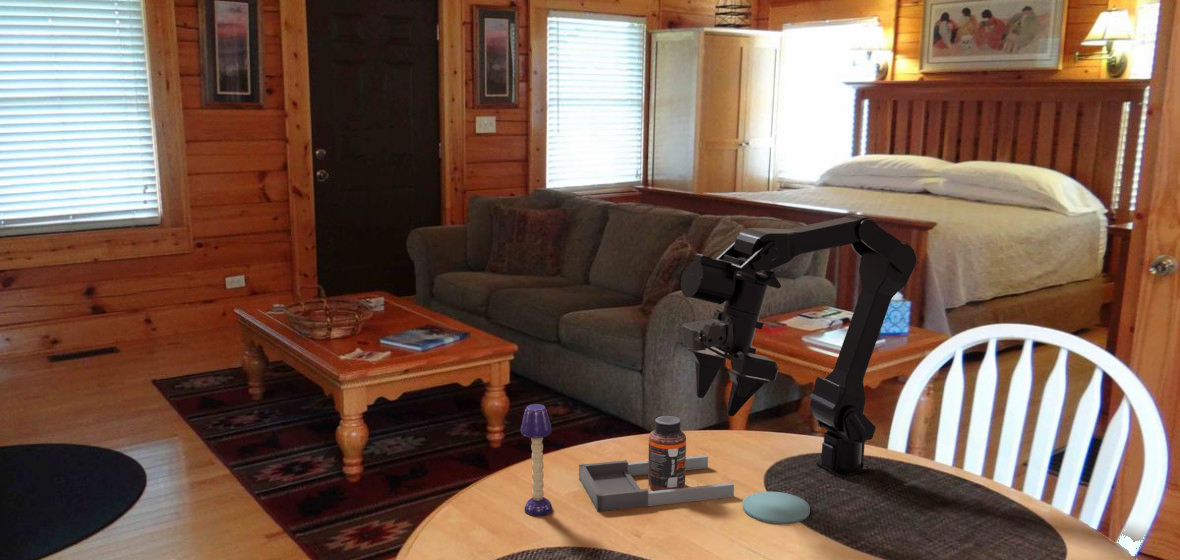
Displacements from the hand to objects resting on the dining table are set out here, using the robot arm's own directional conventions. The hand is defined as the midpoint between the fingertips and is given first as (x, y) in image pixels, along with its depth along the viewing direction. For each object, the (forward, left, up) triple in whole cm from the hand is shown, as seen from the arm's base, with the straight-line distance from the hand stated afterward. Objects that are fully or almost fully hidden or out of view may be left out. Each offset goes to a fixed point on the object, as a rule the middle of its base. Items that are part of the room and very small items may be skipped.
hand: (714, 406), depth 148 cm
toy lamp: (+27, -8, -15) cm, 32 cm away
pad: (-5, +9, -14) cm, 18 cm away
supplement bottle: (+5, -6, -15) cm, 16 cm away
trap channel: (+7, -6, -14) cm, 17 cm away
